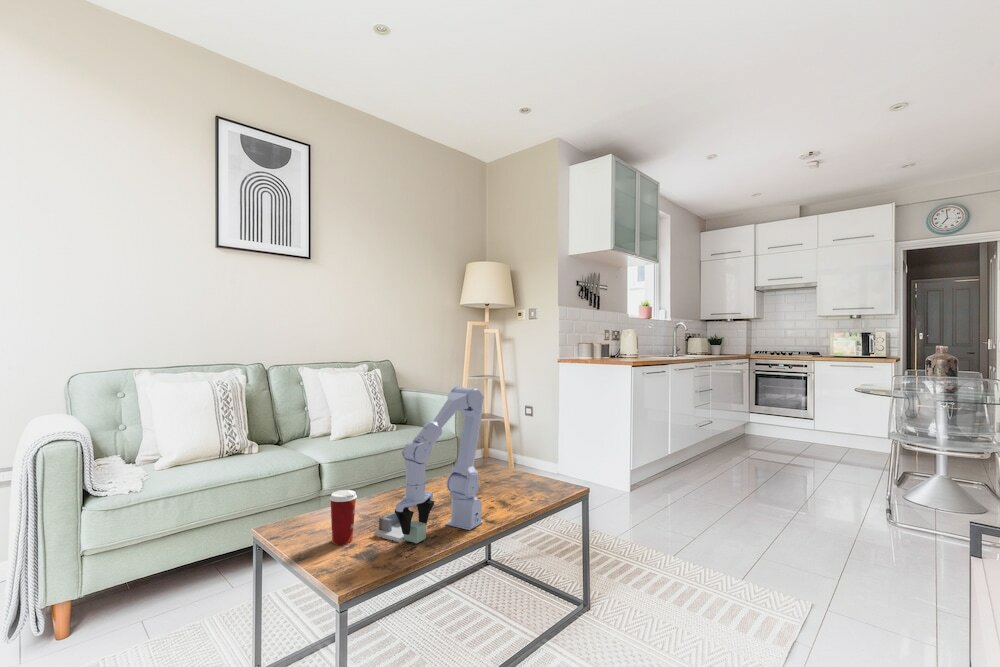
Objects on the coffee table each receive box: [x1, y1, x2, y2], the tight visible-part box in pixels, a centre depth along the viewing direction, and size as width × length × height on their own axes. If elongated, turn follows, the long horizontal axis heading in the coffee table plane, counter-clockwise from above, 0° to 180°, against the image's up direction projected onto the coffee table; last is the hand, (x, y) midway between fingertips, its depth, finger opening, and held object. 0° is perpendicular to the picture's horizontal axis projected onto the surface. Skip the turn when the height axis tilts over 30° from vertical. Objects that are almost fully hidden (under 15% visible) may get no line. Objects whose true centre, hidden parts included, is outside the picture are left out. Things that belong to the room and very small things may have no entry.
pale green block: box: [404, 519, 427, 546], centre depth 140 cm, size 5×4×5 cm
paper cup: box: [329, 489, 358, 546], centre depth 140 cm, size 8×8×14 cm
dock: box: [374, 511, 405, 543], centre depth 147 cm, size 10×12×5 cm
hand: (414, 529), depth 140 cm, fingers open, 7 cm apart
